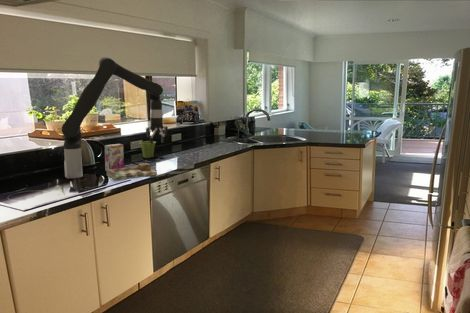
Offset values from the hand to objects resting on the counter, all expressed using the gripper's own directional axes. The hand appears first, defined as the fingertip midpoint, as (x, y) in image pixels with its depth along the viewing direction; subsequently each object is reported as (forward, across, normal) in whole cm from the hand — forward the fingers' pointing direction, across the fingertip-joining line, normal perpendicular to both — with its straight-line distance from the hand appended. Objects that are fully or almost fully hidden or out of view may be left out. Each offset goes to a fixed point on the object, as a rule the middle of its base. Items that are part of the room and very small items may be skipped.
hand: (157, 143), depth 252 cm
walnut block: (+16, -9, 0) cm, 18 cm away
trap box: (+18, -18, -2) cm, 26 cm away
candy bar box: (+18, -22, +17) cm, 33 cm away
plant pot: (+18, +13, +46) cm, 52 cm away
